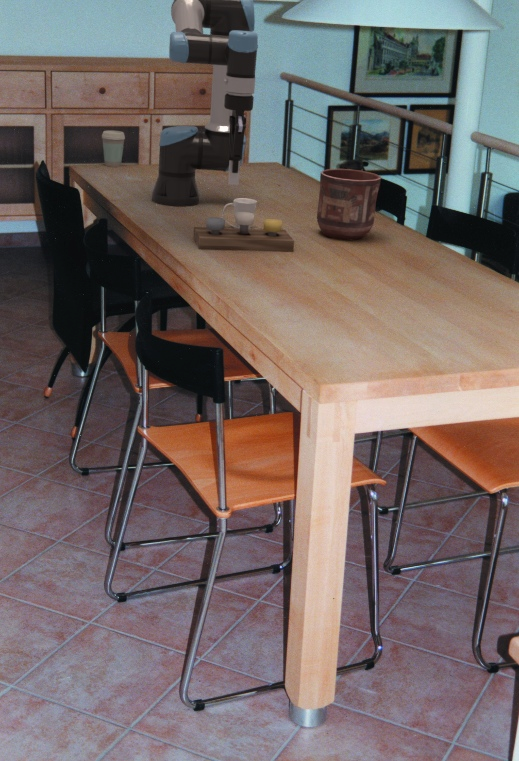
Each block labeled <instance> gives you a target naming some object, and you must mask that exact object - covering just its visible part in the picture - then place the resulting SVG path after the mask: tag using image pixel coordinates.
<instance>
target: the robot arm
mask: <svg viewBox="0 0 519 761" xmlns="http://www.w3.org/2000/svg"><path fill="white" fill-rule="evenodd" d="M254 4H255V3H254V0H173V2H172V4H171V6H170V14H171V20H172V21H173V23H174V25H175V27H174V28H175V31H174V32H173V31H172V32H171V33H170V35H169V46H168V49H169V51H168V52H169V53H168V54H169V55H168V57H169V60H170V61H171V62H173V63H174V62H175V63H181V64H197V65H199V64H200V65H212V66H213V67H212V79H211V80H212V82H211V98H210V116H209V121H208V123H206V124H205V125H204V131H199V129H198V127H197V126H194V125H178V126H170V127H165V128H164V129H162V131H161V132H160V135H159V136H160V138H159V143H158V146H159V155H158V157H159V158H158V176H157V179H156V182H155V185H154V187H153V189H152V193H151V201H153V202H154V203H157V204H160V205H166V206H172V207H173V206H174V207H191V206H196V205H198V204H199V203H200V192H199V188H198V184H197V181H196V170H202V171H218V172H225V173H226V172H228V179H227V184H228V186H239V184H240V173H241V172H240V170H241V166H242V163H243V159H244V155H245V149H246V143H247V142H246V141H247V139H246V138H247V137H246V135H245V132H246V128H247V125H246V124H247V118H246V117H245V112H246V111H247V112H250V111H253V109H254V99H255V98H254V96H253V95H254V93H255V86H256V68H257V67H256V65H257V56H258V55H257V54H258V53H257V52H258V49H259V44H258V38H259V37H258V34H257V33H256V32H254V31H255V22H256V21H255V18H256V17H255V16H256V15H255V6H254ZM204 29H210V30H209V31H210V33H209V34H207V33H204Z"/></svg>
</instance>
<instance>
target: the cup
mask: <svg viewBox="0 0 519 761" xmlns="http://www.w3.org/2000/svg"><path fill="white" fill-rule="evenodd" d="M257 204H258V201H257V200H256V199H253V198H246V197H241V198H239V197H238V198H234V199H233V202H229V203H226V204H225V205H224V207H223V209H222V214H221V215H222V218H223V219H225V223H227V224H228V225H229V226H231V228H240V225H239V224H236V225H233V224H231V223H230V222H229V221H228V220H227V219H226V217H225V216H224V213H225V209H226V208H227V207H228V206H233V210H234V212H233V213H234V220H235V221H236V213H237V212H249V213H253V214H254V215H255V213H256V209H257ZM248 229H252V227H251V225H249V228H248Z"/></svg>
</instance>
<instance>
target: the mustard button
mask: <svg viewBox="0 0 519 761" xmlns="http://www.w3.org/2000/svg"><path fill="white" fill-rule="evenodd" d="M282 228H283V220H281V219H276V218H266V219H264V220H263V228H262V229H263V230H265V231H268V236H276V233H277V232H281V230H283V229H282Z"/></svg>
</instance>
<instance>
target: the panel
mask: <svg viewBox="0 0 519 761" xmlns="http://www.w3.org/2000/svg"><path fill="white" fill-rule="evenodd" d="M239 231H240V228H234V227H224V230H220V231H219V235H215V234H211V230H209V229H207V228H206V227H205V226H204V227H203V226H194V227H193V240H194V241H195V244H196V245H197V246H196V247H198V249H199V250H218V251H219V250H220V251H221V250H223V251H225V250H226V251H229V250H230V251H257V252H258V251H259V252H260V251H262V252H263V251H265V252H271V251H272V252H294V250H295V239H293V238H292V237H291V235H290V234H289V233H288V231H287V230H286V229H282V230H281V232H277V233H276V236H268V231H265V230H263V228H250V229H248V234H242V233H239Z"/></svg>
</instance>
